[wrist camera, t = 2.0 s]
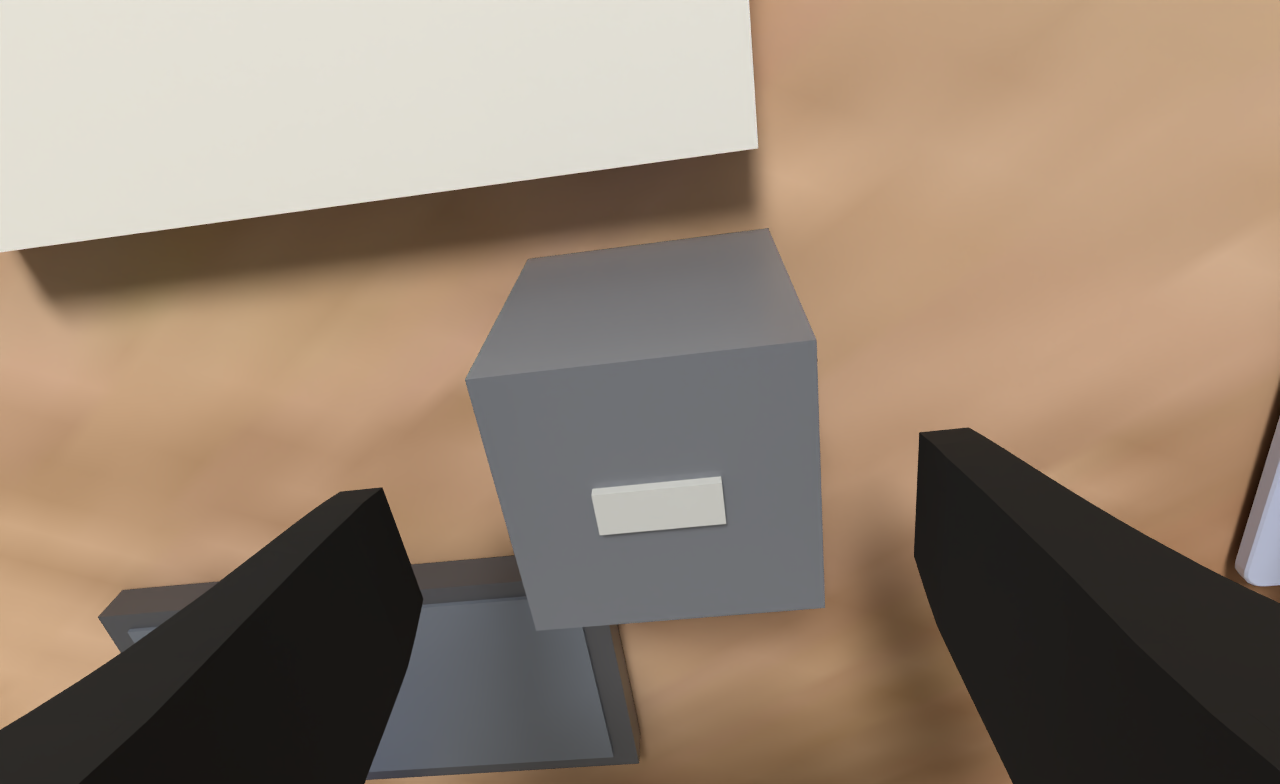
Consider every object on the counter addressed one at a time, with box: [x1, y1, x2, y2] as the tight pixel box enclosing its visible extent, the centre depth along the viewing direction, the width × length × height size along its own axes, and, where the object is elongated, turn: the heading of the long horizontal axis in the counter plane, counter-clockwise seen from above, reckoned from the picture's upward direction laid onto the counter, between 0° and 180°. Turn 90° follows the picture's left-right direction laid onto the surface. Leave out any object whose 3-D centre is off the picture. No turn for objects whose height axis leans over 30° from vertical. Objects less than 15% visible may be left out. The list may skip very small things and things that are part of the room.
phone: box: [98, 556, 640, 780], centre depth 19 cm, size 12×6×1 cm, turn 98°
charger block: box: [465, 228, 825, 631], centre depth 13 cm, size 4×4×5 cm
